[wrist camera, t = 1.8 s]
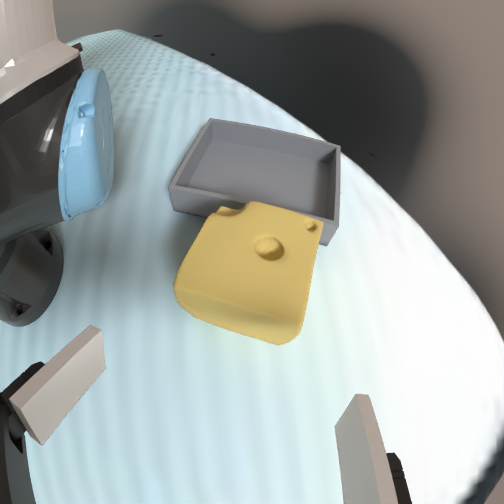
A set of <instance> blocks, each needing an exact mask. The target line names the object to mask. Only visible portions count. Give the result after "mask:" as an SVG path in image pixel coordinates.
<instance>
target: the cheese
mask: <svg viewBox="0 0 504 504" xmlns="http://www.w3.org/2000/svg"><path fill="white" fill-rule="evenodd" d="M322 229H323V222H322V221H320V220H317V219H314V218H312V217H309V216H306V215H302V214H299V213H296V212H294V211H290V210H287V209H283V208H280V207H276V206H272V205H269V204H265V203H261V202H257V201H250V202H249V203H247V204H246V205H245V206H244V207H243V208H242V209H239V210H235V209H230V208H227V207H224V206H221V207H219V209H218V210H217V212H216V213H212V214H210V216H208V218H207V219H206V221H205V223H204V224H203V226H202V228H201V230H200V232H199V233H198V235H197V237H196V239H195V241H194V242H193V244H192V246H191V247H190V249H189V251H188V253H187V254H186V256H185V258H184V260H183V262H182V264H181V266H180V268H179V270H178V273H177V275H176V278H175V281H174V284H173V288H174V293H175V296H176V299H177V302H178V303H179V305H180V306H181V307H182V308H183V309H185V310H186V311H187V312H189V313H190V314H192V315H193V316H194V317H195V318H198V319H201V320H203V321H206V322H208V323H211V324H214V325H216V326H219V327H222V328H224V329H227V330H230V331H233V332H236V333H240V334H243V335H246V336H249V337H253V338H256V339H260V340H263V341H266V342H269V343H272V344H276V345H281V344H285V343H288V342H290V341H291V340H293V339H294V338H295V337H296V336H298V334H299V333H300V331H301V328H302V325H303V321H304V316H305V311H306V306H307V301H308V296H309V290H310V284H311V278H312V273H313V267H314V262H315V257H316V253H317V248H318V244H319V241H320V237H321V233H322Z"/></svg>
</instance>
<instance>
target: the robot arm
mask: <svg viewBox="0 0 504 504" xmlns="http://www.w3.org/2000/svg"><path fill="white" fill-rule="evenodd" d="M113 177H114V136H113V119H112V107H111V98H110V90H109V85H108V83H107V78H106V74H105V72H104V70H102V69H100V68H92V67H90V68H87V69H85V70H84V69H83V67H82V62H81V57H80V53H79V50H78V49H75V48H73V47H71V46H68V45H66V44H63V43H61V42H60V41H59V40H58V38H57V34H56V28H55V21H54V15H53V5H52V0H0V320H2V321H4V322H6V323H8V324H10V325H12V326H17V327H20V326H25V325H28V324H30V323H32V322H34V321H35V320H36V319H38V318H39V317H40V316H41V315H42V314H43V313H44V312H45V310H46V309H47V308H48V306H49V305H50V303H51V302H52V300H53V298H54V296H55V294H56V291H57V289H58V286H59V283H60V280H61V275H62V269H63V254H62V249H61V246H60V243H59V241H58V239H57V238H56V237H55V235H54V234H53V233H52V232H51V231H50V230H49V228H47V226H50V225H52V224H55V223H58V222H61V221H64V220H65V221H66V222H67V221H70V220H72V219H73V217H74V216H76V215H79V214H81V213H84V212H87V211H89V210H92V209H95V208H97V207H99V206H100V205H102V204H103V203H104V202H105V201H106V199H107V198H108V196H109V194H110V191H111V189H112V184H113ZM105 369H106V364H105V357H104V348H103V339H102V330H101V329H99V328H96V327H94V326H92V325H90V326H88V327H87V328H86V329H85V330H84V331H83V332H81V333H80V334H79V335H78V336H77V337H76V338H74V339H73V340H72V341H71V342H70V343H69V344H68V345H66V346H65V347H64V348H63V349H62V350H61V351H60V352H59V353H57V354H56V355H55V356H54V357H53V358H52V359H51V360H50V361H49V362H48V363H46V364H44V363H42V362H41V361H40V362H38V363H35V364H33V365H31V366H30V367H29V368H28V369H27V370H25V372H23V373H22V374H21V375H20V377H18V378H17V379H16V380H14V381H13V382H12V383H11V384H10V385H9V386H8V387H7V388H6V389H5V390H4V391H3V392H1V393H0V504H36V502H35V498H34V494H33V489H32V484H31V479H30V473H29V467H28V460H27V452H26V442H25V435H24V432H25V431H26V430H27V432H28V433H29V435H30V436H31V437H32V438H33V439H34V440H35V441H37V442H38V443H39V444H41V445H42V446H43V445H44V443H45V442H46V441H47V439H48V438H49V437H50V436H51V434H52V433H53V432H54V431H55V429H56V428H57V427H58V425H59V424H60V423H61V422H62V420H63V419H64V418H65V417H66V416H67V414H68V413H69V412H70V411H71V409H72V408H73V407H74V406H75V404H76V403H77V402H78V401H79V400H80V398H81V397H82V396H83V395H84V394H85V392H86V391H87V390H88V389H89V388H90V386H91V385H92V384H93V383H94V382H95V380H96V379H97V378H98V377H99V376H100V375H101V373H102V372H103V371H104V370H105ZM335 433H336V441H337V448H338V456H339V464H340V472H341V481H342V490H343V501H344V504H412V502H411V498H410V494H409V490H408V487H407V483H406V479H405V478H404V477H405V475H404V472H403V471H402V470H403V468H402V465H401V461H400V460H399V458H398V457H397V456H396V454H395V453H386V451H385V448H384V444H383V441H382V437H381V434H380V430H379V427H378V423H377V420H376V417H375V413H374V410H373V407H372V404H371V401H370V398H369V395H364V394H355V396H354V397H353V399H352V401H351V402H350V404H349V405H348V407H347V408H346V410H345V412H344V413H343V415H342V416H341V418H340V419H339V421H338V422H337V424H336V425H335Z"/></svg>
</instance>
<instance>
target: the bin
mask: <svg viewBox="0 0 504 504" xmlns="http://www.w3.org/2000/svg"><path fill="white" fill-rule="evenodd" d="M168 189H169V193H170V197H171V201H172V205H173V209H174V211H178V212H183V213H188V214H192V215H197V216H201V217H206V218H208V216H210V214H212V213H216V212H217V210H218V209H219V207H221V206H224V207H227V208H230V209H235V210H239V209H242V208H243V207H244V206H245V205H246V204H247V203H249V202H250V201H257V202H261V203H265V204H269V205H272V206H276V207H280V208H283V209H287V210H290V211H294V212H296V213H299V214H302V215H306V216H309V217H312V218H314V219H317V220H320V221H322V222H323V229H322V233H321V237H320V241H319V244H321V245H325V246H327V245H328V243H329V242H330V240H331V238H332V237H333V235H334V233H335V232H336V230H337V228H338V227H339V208H340V146H339V145H335V144H332V143H328V142H325V141H321V140H317V139H314V138H310V137H306V136H302V135H298V134H294V133H289V132H285V131H280V130H276V129H271V128H266V127H261V126H256V125H250V124H244V123H239V122H232V121H226V120H219V119H212V118H209V120H208V121H207V123H206V125H205V126H204V128H203V129H202V131H201V132H200V134H199V136H198V137H197V139H196V141H195V142H194V144H193V145H192V147H191V149H190V150H189V152H188V154H187V155H186V157H185V159H184V161H183V162H182V164H181V166H180V168H179V169H178V171H177V173H176V175H175V176H174V178H173V180H172V182H171V184H170V186H169V187H168Z"/></svg>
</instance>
